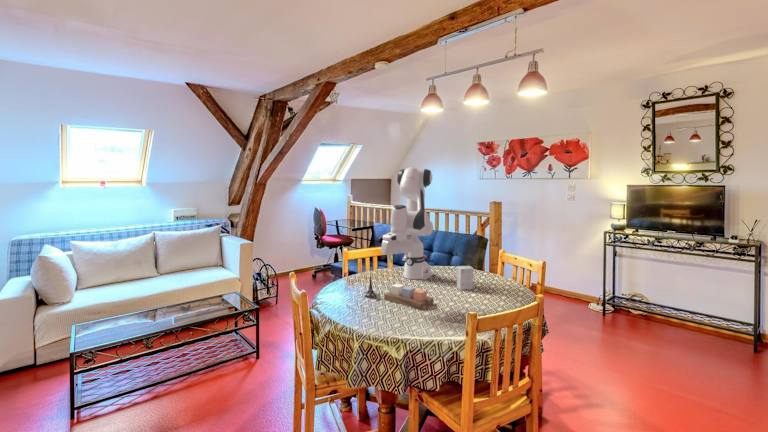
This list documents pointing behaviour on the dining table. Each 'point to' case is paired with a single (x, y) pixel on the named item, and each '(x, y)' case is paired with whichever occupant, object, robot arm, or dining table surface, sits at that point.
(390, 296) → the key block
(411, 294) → the slate key
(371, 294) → the eiffel tower figurine
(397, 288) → the cream cube
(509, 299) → the dining table surface
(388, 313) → the dining table surface
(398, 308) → the dining table surface
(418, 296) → the peach cube
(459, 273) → the small box
